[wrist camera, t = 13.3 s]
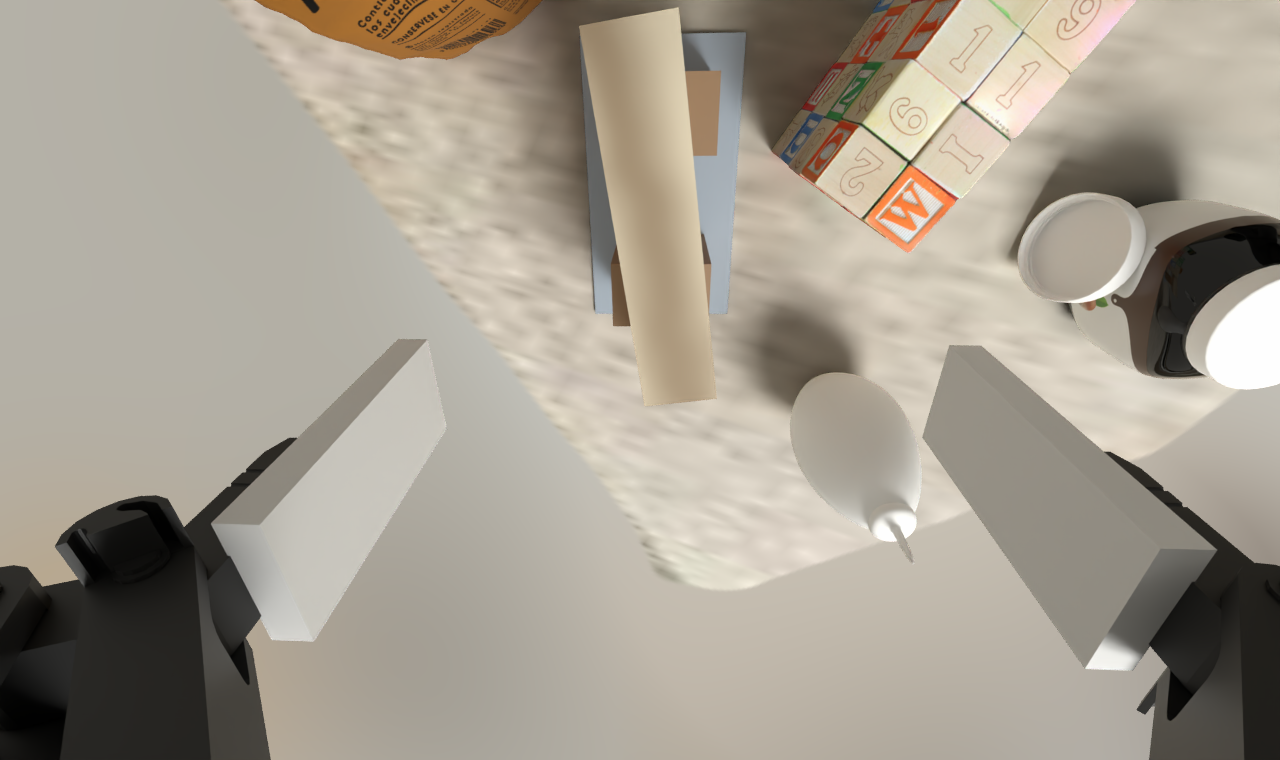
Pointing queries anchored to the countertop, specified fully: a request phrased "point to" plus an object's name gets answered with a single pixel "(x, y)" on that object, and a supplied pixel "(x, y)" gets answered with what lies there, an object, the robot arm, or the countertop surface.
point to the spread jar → (1164, 284)
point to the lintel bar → (653, 198)
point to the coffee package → (408, 23)
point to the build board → (715, 154)
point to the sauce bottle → (859, 454)
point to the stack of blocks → (935, 102)
